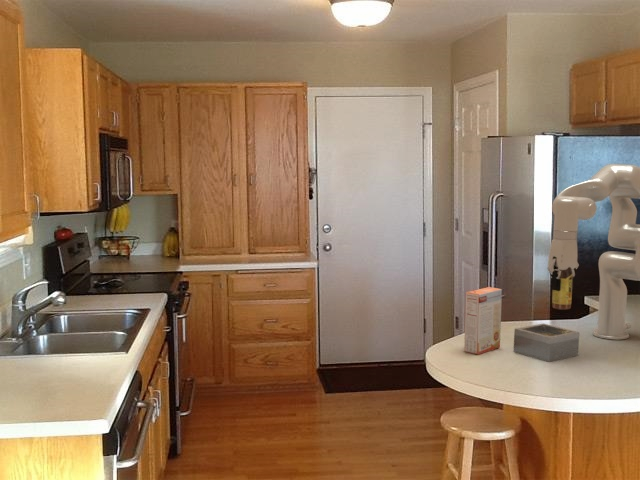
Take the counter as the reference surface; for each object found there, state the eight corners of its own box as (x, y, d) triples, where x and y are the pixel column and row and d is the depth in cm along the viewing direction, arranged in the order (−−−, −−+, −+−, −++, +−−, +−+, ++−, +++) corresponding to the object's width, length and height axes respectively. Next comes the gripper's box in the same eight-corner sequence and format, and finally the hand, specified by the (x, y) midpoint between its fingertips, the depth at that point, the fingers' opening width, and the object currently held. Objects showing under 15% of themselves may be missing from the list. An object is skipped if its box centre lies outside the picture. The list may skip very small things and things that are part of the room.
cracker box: (485, 344, 277) (488, 286, 274) (500, 348, 272) (503, 288, 270) (462, 351, 267) (464, 291, 264) (477, 355, 263) (480, 293, 260)
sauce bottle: (572, 310, 259) (575, 251, 256) (552, 310, 260) (555, 250, 257) (569, 306, 265) (572, 248, 263) (550, 305, 266) (553, 247, 264)
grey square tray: (546, 344, 278) (547, 322, 277) (582, 354, 266) (583, 331, 265) (513, 351, 268) (514, 328, 267) (549, 362, 256) (550, 338, 255)
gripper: (571, 233, 268) (568, 285, 270) (539, 236, 257) (536, 290, 259) (590, 235, 262) (587, 288, 264) (558, 238, 251) (555, 293, 254)
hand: (562, 288), depth 262 cm, fingers closed on sauce bottle, 6 cm apart
